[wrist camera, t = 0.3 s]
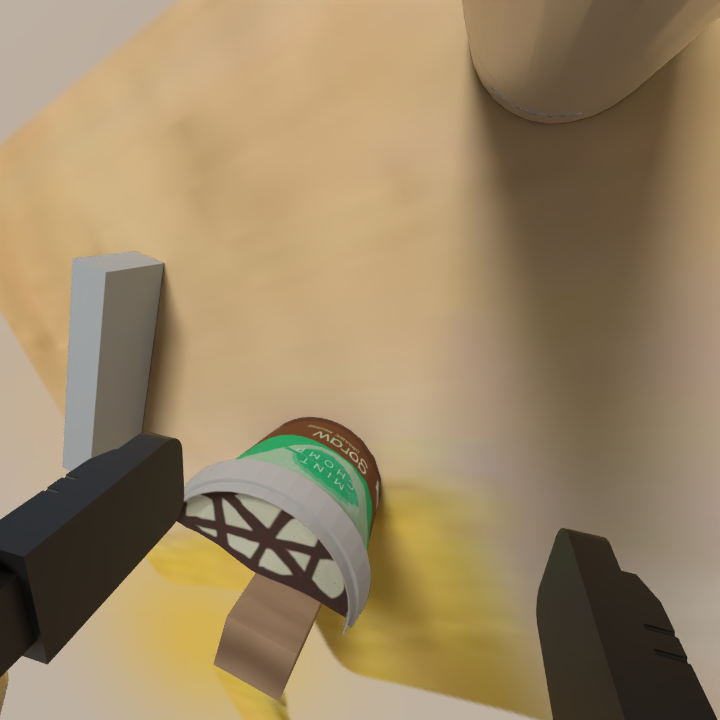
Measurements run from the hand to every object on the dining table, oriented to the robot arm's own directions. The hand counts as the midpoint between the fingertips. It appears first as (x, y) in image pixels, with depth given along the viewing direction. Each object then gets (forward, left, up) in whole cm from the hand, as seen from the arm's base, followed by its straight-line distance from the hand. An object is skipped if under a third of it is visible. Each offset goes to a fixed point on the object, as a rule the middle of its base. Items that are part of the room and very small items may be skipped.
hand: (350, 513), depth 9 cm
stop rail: (+12, -20, -19) cm, 30 cm away
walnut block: (+24, -3, -19) cm, 30 cm away
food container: (+12, -4, -19) cm, 23 cm away
